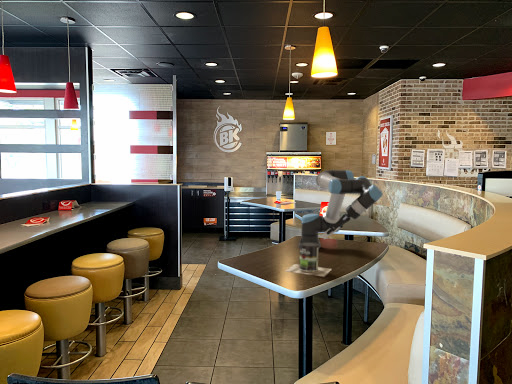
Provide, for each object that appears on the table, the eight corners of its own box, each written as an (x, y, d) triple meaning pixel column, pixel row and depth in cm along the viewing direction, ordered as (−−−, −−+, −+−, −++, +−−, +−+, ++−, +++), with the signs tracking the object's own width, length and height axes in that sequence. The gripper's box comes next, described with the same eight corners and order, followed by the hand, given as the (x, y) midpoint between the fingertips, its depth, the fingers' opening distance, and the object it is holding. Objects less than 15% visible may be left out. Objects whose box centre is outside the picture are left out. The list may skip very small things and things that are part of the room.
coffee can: (310, 273, 208) (311, 247, 207) (295, 269, 215) (295, 243, 214) (321, 269, 215) (322, 244, 214) (306, 265, 222) (307, 241, 221)
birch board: (284, 272, 213) (284, 270, 213) (294, 265, 227) (294, 264, 227) (324, 278, 204) (324, 276, 204) (331, 270, 218) (331, 268, 218)
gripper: (356, 217, 190) (324, 245, 197) (365, 211, 212) (337, 236, 220) (345, 206, 192) (315, 233, 199) (355, 201, 214) (328, 226, 222)
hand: (326, 235), depth 210 cm, fingers open, 13 cm apart
